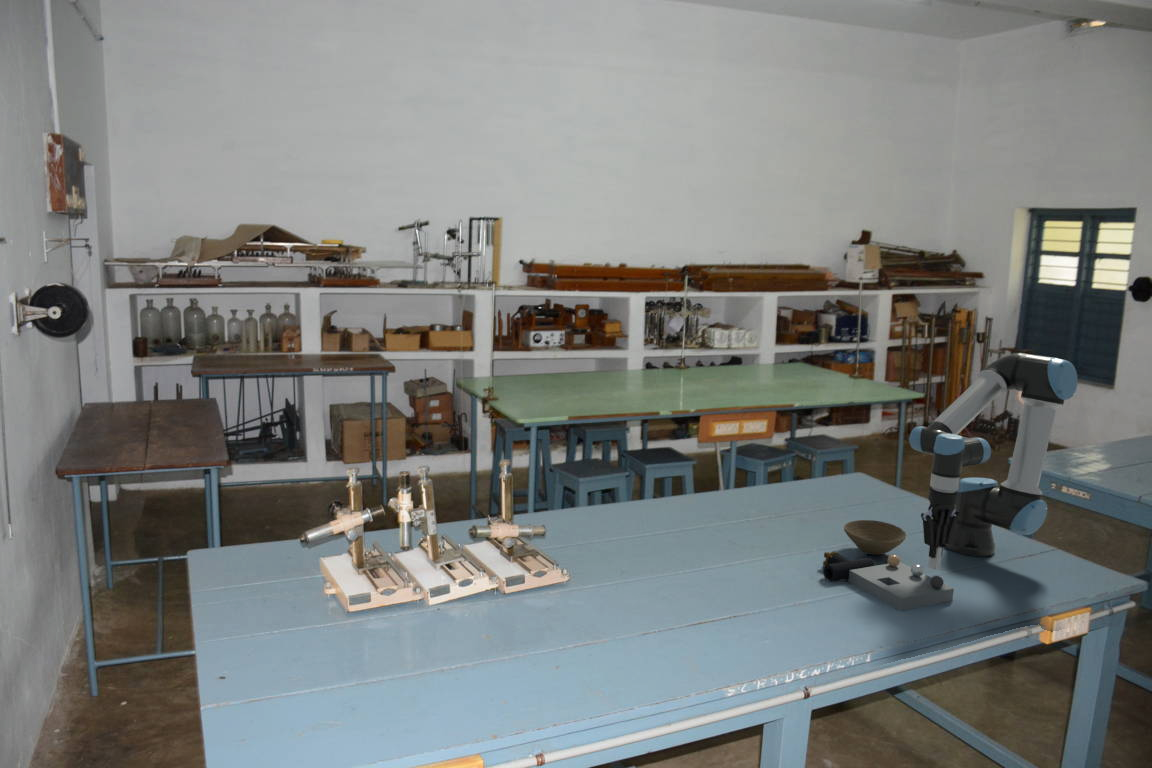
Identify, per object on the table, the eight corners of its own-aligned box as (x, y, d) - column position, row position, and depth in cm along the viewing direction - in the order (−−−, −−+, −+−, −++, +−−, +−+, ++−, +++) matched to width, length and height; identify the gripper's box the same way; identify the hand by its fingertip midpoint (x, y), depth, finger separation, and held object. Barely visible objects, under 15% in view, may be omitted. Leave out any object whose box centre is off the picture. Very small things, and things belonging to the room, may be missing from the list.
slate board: (898, 572, 254) (899, 561, 254) (952, 600, 237) (953, 588, 236) (848, 581, 247) (849, 570, 246) (900, 610, 229) (901, 598, 228)
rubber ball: (935, 584, 238) (937, 573, 237) (945, 589, 235) (947, 577, 234) (926, 586, 237) (928, 574, 236) (936, 591, 234) (937, 579, 233)
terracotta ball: (893, 563, 252) (894, 552, 252) (901, 567, 249) (903, 556, 249) (884, 564, 251) (885, 553, 250) (892, 569, 248) (894, 558, 247)
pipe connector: (809, 552, 254) (849, 546, 260) (808, 569, 255) (847, 563, 261) (836, 568, 244) (876, 561, 250) (834, 585, 245) (874, 578, 251)
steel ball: (916, 573, 246) (917, 562, 245) (925, 577, 243) (927, 566, 242) (907, 574, 244) (908, 563, 244) (916, 579, 241) (918, 568, 241)
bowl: (838, 557, 264) (841, 533, 263) (844, 538, 281) (846, 515, 280) (902, 568, 258) (905, 543, 256) (904, 548, 275) (907, 524, 273)
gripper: (950, 483, 248) (940, 560, 252) (916, 486, 242) (906, 565, 246) (971, 490, 241) (960, 569, 245) (937, 494, 235) (927, 575, 240)
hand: (933, 567), depth 246 cm, fingers closed
